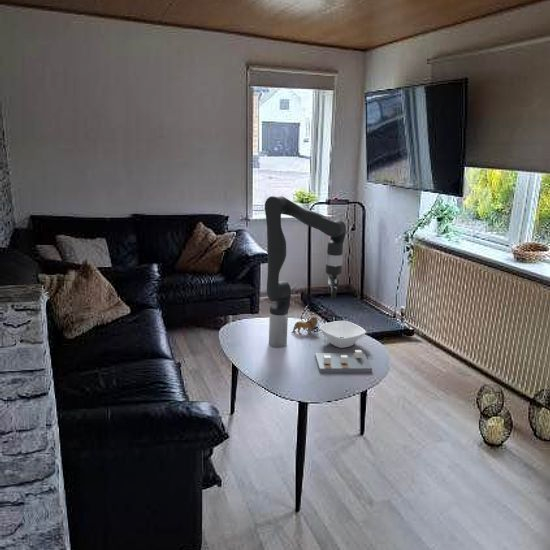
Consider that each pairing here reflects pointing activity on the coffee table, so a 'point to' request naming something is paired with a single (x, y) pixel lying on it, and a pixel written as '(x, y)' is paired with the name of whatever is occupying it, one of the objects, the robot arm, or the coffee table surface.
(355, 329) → the bowl
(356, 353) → the switch
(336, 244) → the robot arm
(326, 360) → the switch
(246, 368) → the coffee table surface
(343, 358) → the switch
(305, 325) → the lion figurine
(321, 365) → the switch unit
